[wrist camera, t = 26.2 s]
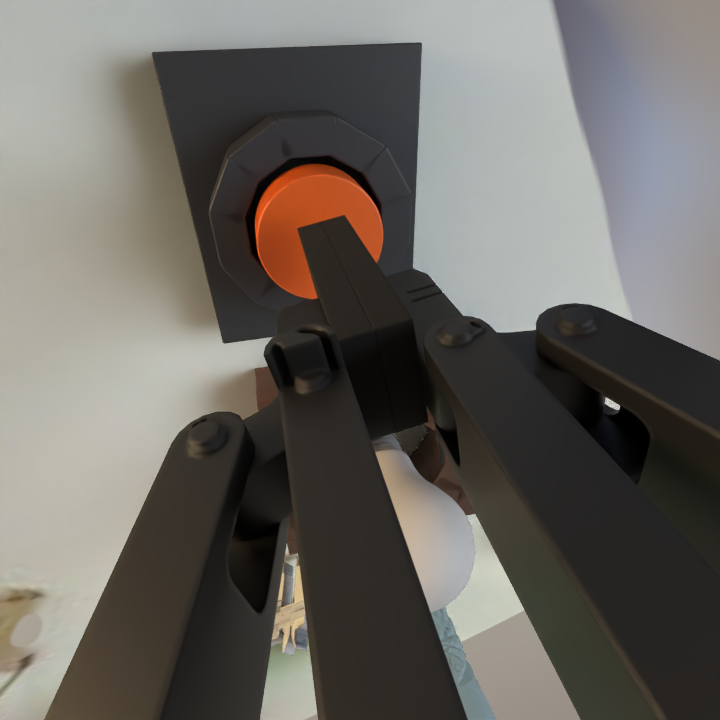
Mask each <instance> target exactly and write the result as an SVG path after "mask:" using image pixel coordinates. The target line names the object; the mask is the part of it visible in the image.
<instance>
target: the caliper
mask: <svg viewBox="0 0 720 720" xmlns="http://www.w3.org/2000/svg"><path fill="white" fill-rule="evenodd" d="M292 591H293V566H291V565H289V564H286V563H283V570H282V576H281V583H280V589H279V596H278V602H277V609H276V616H275V622H274V629H273V635H272V642H271V646H274V645H277V644H279V643H282V642H283V645H282V653H285V654H289V655H294V653H295V650H296V648H298V649H302V650H305V651H307V632H308V631H307V622H306V614H305V606H304V598H303V590H302V581H301V573H300V565H299V557H297V559H296V574H295V585H294V597H293V603H292ZM291 603H292V604H291Z"/></svg>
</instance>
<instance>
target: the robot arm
mask: <svg viewBox="0 0 720 720" xmlns="http://www.w3.org/2000/svg"><path fill="white" fill-rule="evenodd" d="M297 230H298V234H299V237H300V240H301V244H302V247H303V251H304V254H305V257H306V261H307V264H308V267H309V271H310V274H311V278H312V281H313V284H314V288H315V291H316V294H317V298H316V299H313V300H309V301H306V302H302V303H299V304H296V305H292V306H289V307H285V308H282V309H281V310H280V312H279V314H278V316H277V318H276V320H275V325H276V332H277V335H276V336H275V337H273V338H272V339H271V340H270V342H269V343H268V344H267V345H266V347H265V351H264V357H265V360H266V362H267V364H268V367H269V369H270V372H271V374H272V376H273V379H274V381H275V384H276V386H277V388H278V393H279V394H278V395H277V396H276V398H275V399H274V400H273V401H272V402H271V403H270V404H269V405H268V406H266V407H265V408H263V409H262V410H260V411H259V412H257V413H255V414H253V415H252V416H250V417H248V418H246V419H245V420H242V419H241V417H240V416H239V415H237V414H234V413H232V412H215V413H211V414H208V415H204V416H202V417H200V418H198V419H197V420H195V421H193V422H191V423H190V424H188V425H187V426H186V427H185V428H184V429H183V430H182V431H180V432H179V434H178V435H177V436H176V438H175V439H174V441H173V442H172V444H171V446H170V448H169V450H168V453H167V455H166V457H165V459H164V461H163V463H162V466H161V468H160V470H159V472H158V474H157V476H156V479H155V481H154V483H153V485H152V487H151V489H150V492H149V494H148V496H147V498H146V500H145V502H144V505H143V507H142V509H141V511H140V513H139V515H138V518H137V520H136V522H135V524H134V526H133V528H132V531H131V533H130V535H129V537H128V539H127V541H126V544H125V546H124V548H123V550H122V552H121V554H120V557H119V559H118V561H117V563H116V565H115V567H114V570H113V572H112V574H111V576H110V578H109V580H108V583H107V585H106V587H105V589H104V591H103V593H102V596H101V598H100V600H99V602H98V604H97V606H96V609H95V611H94V613H93V615H92V617H91V619H90V622H89V624H88V626H87V628H86V630H85V633H84V635H83V637H82V639H81V641H80V643H79V646H78V648H77V650H76V652H75V654H74V656H73V659H72V661H71V663H70V665H69V667H68V669H67V672H66V674H65V676H64V678H63V680H62V682H61V685H60V687H59V689H58V691H57V693H56V695H55V698H54V700H53V702H52V704H51V706H50V708H49V711H48V713H47V715H46V717H45V719H44V720H260V714H261V707H262V701H263V694H264V688H265V681H266V675H267V668H268V661H269V655H270V648H271V642H272V635H273V629H274V622H275V616H276V609H277V602H278V596H279V589H280V583H281V576H282V570H283V563H284V557H285V550H286V543H287V537H288V530H289V524H290V517H289V515H291V514H292V513H293V516H294V524H295V532H296V541H297V549H298V557H299V565H300V573H301V581H302V590H303V598H304V606H305V614H306V622H307V631H308V639H309V647H310V655H311V663H312V672H313V680H314V688H315V696H316V704H317V713H318V720H468V719H467V716H466V713H465V710H464V707H463V704H462V701H461V698H460V695H459V693H458V690H457V687H456V684H455V681H454V678H453V675H452V672H451V669H450V667H449V664H448V661H447V658H446V655H445V652H444V649H443V646H442V644H441V641H440V638H439V635H438V632H437V629H436V626H435V623H434V620H433V618H432V615H431V612H430V609H429V606H428V603H427V600H426V597H425V595H424V592H423V589H422V586H421V583H420V580H419V577H418V574H417V571H416V569H415V566H414V563H413V560H412V557H411V554H410V551H409V548H408V546H407V543H406V540H405V537H404V534H403V531H402V528H401V525H400V522H399V520H398V517H397V514H396V511H395V508H394V505H393V502H392V499H391V497H390V494H389V491H388V488H387V485H386V482H385V479H384V476H383V473H382V471H381V468H380V465H379V462H378V459H377V456H376V453H375V450H374V448H373V445H372V442H371V440H373V439H376V438H380V437H383V436H386V435H389V434H392V433H395V432H399V431H402V430H405V429H408V428H411V427H414V426H418V425H421V424H424V423H427V422H429V420H428V413H427V408H428V410H429V412H430V413H431V415H432V417H433V419H434V424H435V431H436V438H437V445H438V452H439V457H440V462H441V463H442V462H445V455H446V457H447V459H448V461H449V463H450V465H451V467H452V469H453V471H454V473H455V475H456V477H457V479H458V481H459V482H460V484H461V486H462V488H463V490H464V492H465V494H466V496H467V498H468V500H469V502H470V504H471V506H472V508H473V510H474V512H475V514H476V516H477V518H478V520H479V522H480V524H481V525H482V527H483V529H484V531H485V533H486V535H487V537H488V539H489V541H490V543H491V545H492V547H493V549H494V551H495V553H496V555H497V557H498V559H499V561H500V563H501V565H502V567H503V568H504V570H505V572H506V574H507V576H508V578H509V580H510V582H511V584H512V586H513V588H514V590H515V592H516V594H517V596H518V598H519V600H520V602H521V604H522V606H523V608H524V610H525V611H526V613H527V615H528V617H529V619H530V621H531V623H532V625H533V627H534V629H535V631H536V633H537V635H538V637H539V639H540V641H541V643H542V645H543V647H544V649H545V651H546V652H547V654H548V656H549V658H550V660H551V662H552V664H553V666H554V668H555V670H556V672H557V674H558V676H559V678H560V680H561V682H562V684H563V686H564V688H565V690H566V691H567V693H568V695H569V697H570V699H571V701H572V703H573V705H574V707H575V709H576V711H577V713H578V715H579V717H580V719H581V720H720V361H719V360H717V359H715V358H712V357H710V356H708V355H706V354H703V353H701V352H699V351H697V350H694V349H692V348H690V347H688V346H685V345H683V344H681V343H679V342H676V341H674V340H672V339H670V338H667V337H665V336H663V335H661V334H658V333H656V332H654V331H652V330H649V329H647V328H645V327H643V326H640V325H638V324H636V323H634V322H631V321H629V320H627V319H625V318H622V317H620V316H618V315H616V314H613V313H611V312H609V311H607V310H604V309H602V308H598V307H595V306H592V305H586V304H577V303H573V304H564V305H558V306H555V307H552V308H549V309H547V310H546V311H544V312H543V313H542V314H540V315H539V317H538V320H537V322H536V330H533V331H523V332H512V333H497V332H495V331H494V330H493V328H492V327H491V326H490V325H489V324H487V323H486V322H484V321H483V320H481V319H478V318H474V317H470V316H463V315H462V314H461V313H460V312H459V311H458V309H457V308H456V307H455V306H454V305H453V304H452V302H451V301H450V300H449V299H448V298H447V297H446V295H445V294H444V293H442V291H441V290H440V288H439V287H438V286H437V285H436V284H435V283H434V281H433V280H432V279H431V278H430V277H429V276H428V274H425V273H423V272H420V271H418V270H415V269H410V270H406V271H403V272H400V273H396V274H393V275H389V276H386V277H385V275H384V274H383V272H382V271H381V269H380V268H379V266H378V265H377V263H376V262H375V260H374V259H373V257H372V256H371V254H370V253H369V251H368V250H367V248H366V247H365V245H364V244H363V242H362V241H361V239H360V238H359V236H358V235H357V233H356V231H355V230H354V228H353V227H352V225H351V224H350V222H349V221H348V219H347V218H346V216H345V215H342V216H339V217H335V218H332V219H328V220H324V221H321V222H317V223H314V224H310V225H307V226H303V227H300V228H297ZM606 397H607V398H609V399H610V400H612V401H614V402H615V403H617V404H619V405H620V410H615V409H613V408H611V407H609V406H607V405H606V404H604V403H605V398H606ZM426 406H427V407H426Z"/></svg>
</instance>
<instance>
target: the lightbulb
mask: <svg viewBox="0 0 720 720" xmlns="http://www.w3.org/2000/svg"><path fill="white" fill-rule="evenodd" d="M371 442H372V445H373V448H374V450H375V453H376V456H377V459H378V462H379V465H380V468H381V471H382V473H383V476H384V479H385V482H386V485H387V488H388V491H389V494H390V497H391V499H392V502H393V505H394V508H395V511H396V514H397V517H398V520H399V522H400V525H401V528H402V531H403V534H404V537H405V540H406V543H407V546H408V548H409V551H410V554H411V557H412V560H413V563H414V566H415V569H416V571H417V574H418V577H419V580H420V583H421V586H422V589H423V592H424V595H425V597H426V600H427V603H428V606H429V609H430V612H434V611H437V610H439V609H441V608H443V607H445V606H446V605H448V604H449V603H450V602H452V601H453V600H454V599H455V598H456V597H457V596H458V595H459V594H460V593H461V591H462V590H463V589H464V587H465V586H466V584H467V583H468V581H469V578H470V575H471V572H472V570H473V564H474V558H475V544H474V537H473V532H472V529H471V525H470V523H469V521H468V519H467V517H466V515H465V513H464V512H463V510H462V509H461V508H460V506H459V505H458V504H457V503H456V502H455V501H454V500H453V499H452V498H451V497H450V496H449V495H447V494H446V493H445V492H443V491H442V490H440V489H439V488H438V487H436V486H435V485H433V484H431V483H430V482H428V481H426V480H425V479H424V478H423V477H422V476H421V475H420V474H419V473H418V471H417V470H416V469H415V467H414V466H413V464H412V462H411V460H410V458H409V457H408V455H407V454H406V453H404V452H403V451H402V450H401V447H400V445H399V443H398V441H397V439H396V437H395V436H394V434H393V433H392V434H389V435H386V436H383V437H380V438H376V439H373V440H371Z"/></svg>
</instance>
